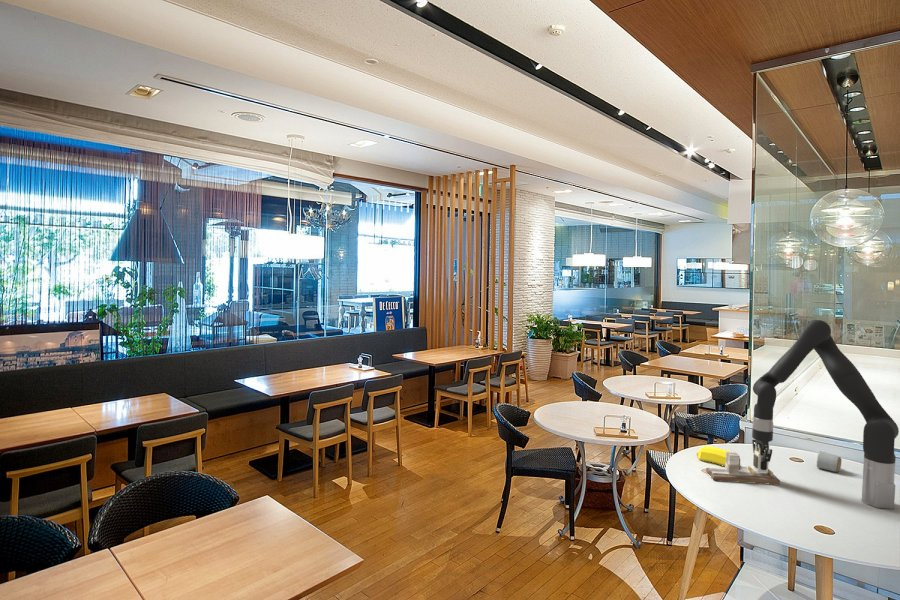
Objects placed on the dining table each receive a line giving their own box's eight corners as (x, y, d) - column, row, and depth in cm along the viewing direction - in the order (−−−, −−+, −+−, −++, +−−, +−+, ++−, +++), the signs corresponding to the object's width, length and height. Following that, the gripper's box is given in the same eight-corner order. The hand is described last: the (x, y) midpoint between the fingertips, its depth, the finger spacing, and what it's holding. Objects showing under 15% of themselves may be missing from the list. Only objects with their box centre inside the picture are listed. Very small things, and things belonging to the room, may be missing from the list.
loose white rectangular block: (768, 472, 217) (768, 454, 216) (756, 471, 217) (757, 453, 217) (763, 468, 221) (764, 450, 220) (752, 468, 221) (753, 450, 221)
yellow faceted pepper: (699, 455, 248) (693, 459, 242) (700, 442, 247) (693, 445, 242) (740, 466, 235) (735, 470, 230) (741, 451, 235) (735, 455, 229)
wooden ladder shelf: (779, 484, 214) (780, 459, 213) (713, 480, 218) (714, 456, 217) (769, 476, 223) (770, 452, 222) (706, 472, 227) (706, 448, 226)
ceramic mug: (838, 474, 225) (839, 457, 225) (816, 469, 231) (816, 452, 230) (842, 468, 232) (843, 452, 232) (820, 463, 238) (821, 447, 238)
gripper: (780, 433, 210) (778, 474, 211) (764, 423, 224) (763, 462, 225) (760, 433, 211) (759, 473, 212) (746, 422, 225) (744, 461, 226)
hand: (761, 467), depth 219 cm, fingers closed on loose white rectangular block, 4 cm apart
